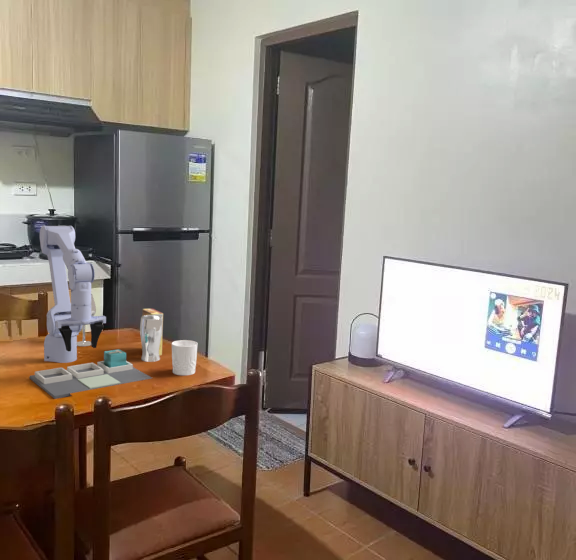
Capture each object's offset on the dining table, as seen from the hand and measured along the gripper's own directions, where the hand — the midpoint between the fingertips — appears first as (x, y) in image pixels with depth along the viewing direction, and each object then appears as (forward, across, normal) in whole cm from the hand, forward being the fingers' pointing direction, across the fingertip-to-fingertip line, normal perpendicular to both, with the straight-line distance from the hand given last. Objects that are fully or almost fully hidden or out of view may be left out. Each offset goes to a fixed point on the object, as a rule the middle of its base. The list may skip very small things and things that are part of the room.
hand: (81, 348), depth 181 cm
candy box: (+9, +29, +10) cm, 32 cm away
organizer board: (+8, +1, -5) cm, 10 cm away
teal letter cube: (+8, +11, 0) cm, 13 cm away
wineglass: (+9, +14, +34) cm, 38 cm away
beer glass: (+9, +24, +3) cm, 26 cm away
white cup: (+9, +27, -14) cm, 32 cm away
